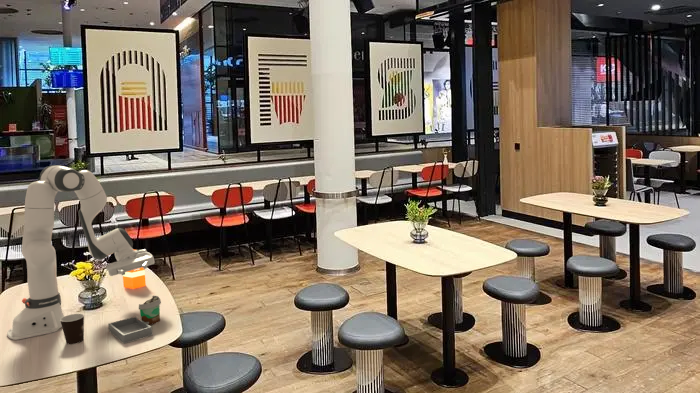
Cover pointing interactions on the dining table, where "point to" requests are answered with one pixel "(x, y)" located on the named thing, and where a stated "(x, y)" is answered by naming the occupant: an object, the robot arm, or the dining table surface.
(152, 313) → the ice cream cake half
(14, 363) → the dining table surface
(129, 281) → the orange juice
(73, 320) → the coffee mug
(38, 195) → the robot arm
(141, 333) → the bin
